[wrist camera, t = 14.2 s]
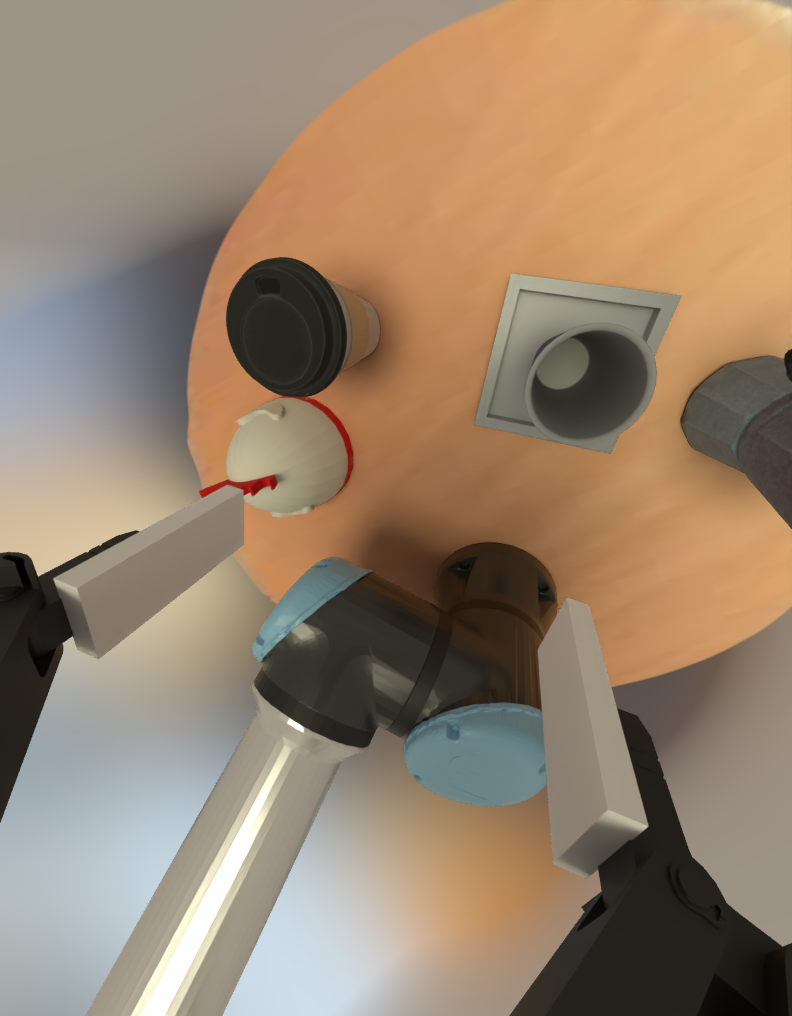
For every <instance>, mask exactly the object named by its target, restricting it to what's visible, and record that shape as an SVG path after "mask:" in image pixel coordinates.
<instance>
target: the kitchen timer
mask: <svg viewBox="0 0 792 1016" xmlns="http://www.w3.org/2000/svg"><path fill="white" fill-rule="evenodd" d="M236 422H237V423H238V424H239V425H240V427H239V428H238V430H237V431H236V433H235V435H234V437H233V439H232V441H231V443H230V446H229V449H228V454H227V462H226V469H227V475H228V480H226V481H223V482H221V483H218V484H215V485H213V486H210V487H208V488H205V489H203V490H201V491H199V493H200V495H201V497H202V498H204V497H205V496H207V495H209V494H211V493H213V492H215V491H217V490H218V489H220V488H222V487H224V486H226V485H230V486H233V487H236V488H239V489H242V490H243V499H244V501H245V502H247V503H248V504H250V505H251V506H253V507H256V508H258V509H261V510H264V511H268V512H270V514H271V515H272V516H273V517H277V518H281V517H287V516H292V515H300V514H306V513H308V512H310V511H312V510H314V507H316V506H319V505H321V504H323V503H324V502H326V501H327V500H329V499H330V498H332V497H333V496H335V495H336V494H337V493H338V492H339V491H340V490H341V489H342V488H343V487H344V485H345V484H346V483H347V481H348V480H349V477H350V474H351V471H352V468H353V451H352V447H351V443H350V439H349V436H348V434H347V432H346V430H345V429H344V427H343V425H342V423H341V421H340V420H339V419H338V418H337V417H336V416H335V415H334V414H333V413H332V412H331V410H330V409H328V408H327V407H325V406H324V405H322V404H321V403H319V402H318V401H316V400H314V399H310V398H307V397H287V396H284V397H280V398H278V399H275V400H272V401H270V402H267V403H265V404H263V405H261V406H259V407H257V408H255V409H253V410H252V411H250V412H249V413H247V414H246V415H244V416H243V417H241V418H240V419H238V420H236Z"/></svg>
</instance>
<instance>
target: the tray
mask: <svg viewBox="0 0 792 1016" xmlns="http://www.w3.org/2000/svg"><path fill="white" fill-rule="evenodd" d="M680 298H681V296H679V295H672V294H664V293H657V292H649V291H641V290H634V289H626V288H619V287H611V286H603V285H596V284H588V283H580V282H573V281H565V280H558V279H550V278H542V277H535V276H527V275H520V274H512V273H511V276H510V280H509V284H508V289H507V293H506V297H505V301H504V305H503V309H502V313H501V317H500V321H499V325H498V329H497V334H496V338H495V342H494V346H493V350H492V354H491V358H490V362H489V366H488V370H487V374H486V378H485V383H484V387H483V391H482V395H481V399H480V403H479V407H478V411H477V415H476V419H475V423H474V425H477V426H482V427H487V428H492V429H496V430H501V431H506V432H510V433H515V434H520V435H524V436H529V437H534V438H538V439H543V440H548V441H552V442H556V441H554V440H552V439H550V438H548V437H547V436H545V435H544V434H543V433H541V432H540V431H539V430H538V429H537V428H536V426H535V425H534V424H533V423H532V421H531V419H530V417H529V415H528V412H527V409H526V405H525V394H524V392H525V385H526V380H527V377H528V374H529V371H530V368H531V365H532V363H533V360H534V357H535V355H536V353H537V351H538V349H539V348H540V347H541V346H542V345H543V344H544V343H545V342H546V341H547V340H549V339H550V338H552V337H554V336H557V335H559V334H561V333H564V332H566V331H569V330H571V329H574V328H576V327H578V326H582V325H586V324H591V323H612V324H617V325H621V326H624V327H626V328H628V329H630V330H633V331H634V332H635V333H637V334H638V335H639V336H640V337H642V338H643V339H644V341H645V342H646V343H647V345H648V346H649V347H650V349H651V351H652V354H653V356H655V354H656V352H657V349H658V347H659V345H660V343H661V341H662V338H663V336H664V334H665V332H666V329H667V327H668V325H669V323H670V321H671V318H672V316H673V314H674V312H675V309H676V307H677V305H678V303H679V300H680ZM618 436H619V435H618ZM618 436H616V437H613V438H611V439H609V440H607V441H604V442H601V443H597V444H594V445H585V446H576V447H580V448H585V449H590V450H595V451H599V452H604V453H609V454H611V452H612V450H613V448H614V445H615V443H616V441H617V439H618ZM557 443H558V442H557ZM571 446H573V445H571Z"/></svg>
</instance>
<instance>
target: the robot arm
mask: <svg viewBox="0 0 792 1016" xmlns="http://www.w3.org/2000/svg"><path fill="white" fill-rule="evenodd" d="M242 545H244V499H243V490H242V489H239V488H236V487H233V486H230V485H226V486H224V487H222V488H220V489H218V490H217V491H215V492H213V493H211V494H209V495H207V496H205V497H204V498H202V499H200V500H198V501H196V502H194V503H192V504H191V505H189V506H187V507H185V508H183V509H181V510H179V511H178V512H176V513H174V514H172V515H170V516H169V517H166V518H165V519H163V520H161V521H159V522H157V523H155V524H153V525H152V526H150V527H148V528H146V529H144V530H142V531H140V532H139V531H132V532H129V533H125V534H122V535H118V536H116V537H114V538H112V539H110V540H108V541H106V542H104V543H103V544H102V545H101V546H97V547H95V548H93V549H91V550H89V552H88V553H87V552H85V553H83V554H81V555H79V556H77V557H75V558H74V559H72V560H70V561H68V562H66V563H64V564H62V565H60V566H58V567H56V568H54V569H52V570H50V571H48V572H46V573H45V574H43V575H41V576H39V577H38V576H37V573H36V570H35V568H34V565H33V562H32V560H31V558H30V557H29V556H28V555H25V554H22V553H15V552H6V553H0V822H1V819H2V817H3V814H4V811H5V809H6V806H7V803H8V801H9V798H10V795H11V792H12V790H13V787H14V784H15V782H16V779H17V776H18V773H19V771H20V768H21V765H22V763H23V760H24V757H25V754H26V752H27V749H28V746H29V744H30V741H31V738H32V735H33V733H34V730H35V727H36V724H37V722H38V719H39V717H40V713H41V711H42V708H43V706H44V703H45V700H46V697H47V695H48V692H49V689H50V687H51V684H52V681H53V679H54V676H55V673H56V670H57V667H58V665H59V662H60V660H61V657H62V654H63V644H62V643H63V642H65V641H66V640H67V639H69V638H70V637H72V636H73V638H74V641H75V644H76V647H77V650H79V651H81V652H84V653H86V654H88V655H90V656H93V657H95V658H97V659H100V658H101V657H102V656H103V655H105V654H106V653H107V652H108V651H110V650H111V649H112V648H113V647H115V646H116V645H117V644H118V643H120V642H121V641H122V640H124V639H125V638H126V637H127V636H129V635H130V634H131V633H132V632H133V631H135V630H136V629H137V628H139V627H140V626H141V625H143V624H144V623H145V622H146V621H148V620H149V619H150V618H151V617H153V616H154V615H155V614H156V613H158V612H159V611H160V610H161V609H163V608H164V607H165V606H167V605H168V604H169V603H170V602H172V601H173V600H174V599H175V598H177V597H178V596H179V595H180V594H181V593H183V592H184V591H186V590H187V589H188V588H189V587H190V586H192V585H193V584H194V583H196V582H197V581H198V580H199V579H201V578H202V577H203V576H204V575H206V574H207V573H208V572H209V571H211V570H212V569H213V568H214V567H216V566H217V565H218V564H220V563H221V562H222V561H223V560H224V559H226V558H227V557H228V556H230V555H231V554H232V553H234V552H235V551H236V550H237V549H239V548H240V547H241V546H242ZM373 573H374V572H373V570H371V569H364V568H362V567H360V566H358V565H355V564H353V563H351V562H349V561H347V560H345V559H342V558H339V557H330V558H326V559H324V560H322V561H320V562H318V563H316V564H315V565H314V566H313V567H311V568H310V569H309V570H308V571H307V572H306V573H305V574H304V575H302V576H301V577H300V578H299V580H298V581H297V582H296V583H295V584H294V585H293V586H292V587H291V588H290V589H289V591H288V592H287V593H286V594H285V595H284V597H283V598H282V599H281V600H280V602H279V603H278V604H277V606H276V607H275V608H274V610H273V611H272V613H271V614H270V615H269V617H268V618H267V620H266V621H265V623H264V624H263V626H262V628H261V630H260V634H259V635H258V637H257V638H256V640H255V642H254V644H253V648H252V651H253V654H254V656H255V657H256V658H257V661H259V662H261V663H262V662H264V664H263V667H262V668H261V670H260V672H259V674H258V675H257V677H256V679H255V681H254V682H253V685H252V689H253V694H254V698H255V703H256V714H255V716H254V717H253V719H252V721H251V723H250V725H249V726H248V728H247V730H246V731H245V733H244V735H243V737H242V739H241V740H240V742H239V744H238V746H237V748H236V749H235V751H234V753H233V755H232V756H231V758H230V760H229V762H228V764H227V765H226V767H225V769H224V771H223V772H222V774H221V776H220V778H219V779H218V781H217V783H216V785H215V786H214V788H213V790H212V792H211V794H210V795H209V797H208V799H207V801H206V803H205V804H204V806H203V808H202V810H201V811H200V813H199V815H198V817H197V818H196V820H195V822H194V824H193V826H192V827H191V829H190V831H189V833H188V834H187V836H186V838H185V840H184V841H183V843H182V845H181V847H180V849H179V850H178V852H177V854H176V856H175V857H174V859H173V861H172V863H171V865H170V866H169V868H168V870H167V872H166V873H165V875H164V877H163V879H162V881H161V883H160V884H159V886H158V888H157V889H156V891H155V893H154V895H153V897H152V898H151V900H150V902H149V904H148V906H147V907H146V909H145V911H144V913H143V914H142V916H141V918H140V920H139V921H138V923H137V925H136V927H135V928H134V930H133V932H132V934H131V936H130V938H129V939H128V941H127V943H126V945H125V946H124V948H123V950H122V952H121V953H120V955H119V957H118V959H117V960H116V962H115V964H114V966H113V968H112V969H111V971H110V973H109V975H108V976H107V978H106V980H105V982H104V983H103V985H102V987H101V989H100V991H99V992H98V994H97V996H96V998H95V999H94V1001H93V1003H92V1005H91V1007H90V1008H89V1010H88V1012H87V1014H86V1015H85V1016H222V1015H223V1013H224V1011H225V1009H226V1007H227V1004H228V1002H229V1000H230V998H231V996H232V994H233V992H234V989H235V987H236V985H237V983H238V981H239V979H240V977H241V975H242V973H243V971H244V968H245V966H246V964H247V962H248V960H249V958H250V956H251V954H252V951H253V949H254V947H255V945H256V943H257V941H258V939H259V936H260V934H261V932H262V930H263V928H264V926H265V924H266V922H267V919H268V917H269V915H270V913H271V911H272V909H273V907H274V905H275V903H276V900H277V898H278V896H279V894H280V892H281V889H282V888H283V885H284V883H285V881H286V879H287V877H288V875H289V873H290V871H291V869H292V867H293V864H294V862H295V860H296V858H297V856H298V854H299V852H300V850H301V847H302V845H303V843H304V841H305V839H306V837H307V835H308V833H309V830H310V828H311V826H312V824H313V822H314V820H315V817H316V816H317V813H318V811H319V809H320V807H321V805H322V803H323V801H324V798H325V796H326V794H327V792H328V790H329V788H330V786H331V784H332V782H333V779H334V777H335V775H336V773H337V771H338V769H339V767H340V765H341V762H342V760H344V759H345V758H347V757H349V756H352V755H355V754H357V753H360V752H363V751H365V750H366V749H367V748H368V746H369V744H370V742H371V740H372V738H373V736H374V733H375V731H376V729H377V728H378V727H381V728H384V729H386V730H388V731H390V732H391V733H393V734H395V735H397V736H399V737H400V738H402V739H404V740H405V742H404V748H403V751H404V760H405V764H406V767H407V769H408V771H409V772H410V774H413V775H414V778H415V779H416V781H417V782H418V783H420V784H421V785H422V786H423V787H425V788H427V789H428V790H430V791H432V792H433V793H435V794H438V795H440V796H443V797H445V798H448V799H451V800H454V801H457V802H461V803H467V804H472V805H481V806H500V805H509V804H514V803H518V802H521V801H524V800H526V799H529V798H531V797H533V796H534V795H536V794H537V793H538V792H540V791H541V790H542V789H543V788H544V786H545V785H546V783H547V789H548V803H549V817H550V831H551V844H552V859H553V864H555V865H557V866H559V867H561V868H563V869H565V870H568V871H570V872H572V873H574V874H577V875H579V876H581V877H584V878H586V879H587V878H588V877H589V876H590V875H592V874H593V873H594V872H595V871H596V870H597V869H598V871H599V877H600V883H601V890H602V892H600V893H599V894H598V895H596V896H595V897H594V898H593V899H591V900H590V901H589V902H587V903H586V904H585V905H584V906H582V908H583V910H584V911H585V912H584V913H583V915H582V916H581V918H580V919H579V920H578V922H577V923H576V924H575V926H574V927H573V929H572V930H571V931H570V933H569V934H568V936H567V937H566V938H565V940H564V941H563V943H562V944H561V945H560V947H559V948H558V949H557V951H556V952H555V953H554V955H553V956H552V958H551V959H550V960H549V962H548V963H547V965H546V966H545V967H544V969H543V970H542V971H541V973H540V974H539V976H538V977H537V979H536V980H535V981H534V983H533V984H532V985H531V987H530V988H529V989H528V991H527V992H526V994H525V995H524V996H523V998H522V999H521V1001H520V1002H519V1003H518V1005H517V1006H516V1007H515V1009H514V1010H513V1012H512V1013H511V1014H510V1016H792V943H791V944H788V945H786V946H783V947H782V946H781V945H779V944H778V943H777V942H776V941H774V940H773V939H772V938H770V937H769V936H768V935H766V934H765V933H764V932H762V931H761V930H760V929H758V928H757V927H756V926H755V925H753V924H752V923H751V922H749V921H748V920H747V919H746V918H744V917H743V916H741V915H740V914H739V913H738V912H736V911H735V910H734V909H733V908H732V907H731V906H729V905H728V904H727V903H726V901H725V899H724V897H723V895H722V894H721V892H720V890H719V888H718V886H717V884H716V883H715V881H714V880H713V879H712V878H711V877H710V875H709V874H708V873H707V871H706V870H705V869H704V868H703V866H701V865H700V864H699V863H698V862H697V861H696V860H695V859H694V858H692V856H691V853H690V851H689V849H688V846H687V843H686V840H685V837H684V834H683V831H682V828H681V825H680V822H679V819H678V816H677V813H676V810H675V807H674V804H673V801H672V798H671V795H670V792H669V789H668V786H667V783H666V780H665V779H663V776H664V774H663V771H662V768H661V765H660V762H658V760H657V759H658V756H657V753H656V750H655V747H654V744H653V741H652V738H651V736H650V734H649V733H648V732H647V730H646V728H645V727H644V725H643V724H642V722H641V721H640V720H639V718H638V716H636V715H634V714H631V713H628V712H626V711H623V710H620V709H617V707H616V703H615V700H614V696H613V692H612V689H611V685H610V681H609V677H608V674H607V670H606V666H605V663H604V659H603V655H602V651H601V648H600V644H599V640H598V637H597V633H596V629H595V625H594V622H593V618H592V614H591V611H590V607H589V605H588V604H585V603H582V602H579V601H576V600H573V599H570V598H566V600H565V602H564V603H563V605H562V607H561V609H560V611H559V612H558V614H557V595H556V588H555V584H554V581H553V579H552V577H551V575H550V573H549V572H548V570H547V569H546V568H545V567H544V565H543V564H542V563H541V562H540V561H538V560H537V559H536V558H535V557H533V556H532V555H530V554H528V553H527V552H525V551H523V550H521V549H518V548H515V547H512V546H509V545H505V544H498V543H481V544H475V545H471V546H468V547H465V548H462V549H460V550H458V551H457V552H455V553H454V554H452V555H451V556H450V557H449V558H448V559H447V560H446V561H445V562H444V563H443V565H442V566H441V568H440V570H439V573H438V576H437V579H436V582H435V587H434V602H435V605H433V604H431V603H429V602H427V601H425V600H423V599H421V598H419V597H417V596H415V595H414V594H412V593H410V592H408V591H406V590H404V589H402V588H400V587H398V586H396V585H394V584H392V583H391V582H389V581H387V580H385V579H383V578H381V577H379V576H377V575H375V574H373ZM556 614H557V616H556Z"/></svg>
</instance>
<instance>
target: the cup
mask: <svg viewBox="0 0 792 1016" xmlns="http://www.w3.org/2000/svg"><path fill="white" fill-rule="evenodd" d="M656 376H657V369H656V363H655V358H654V356H653V354H652V351H651V349H650V347H649V346H648V345H647V343H646V342H645V341H644V339H643V338H642V337H640V336H639V335H638V334H637V333H635V332H634V331H633V330H630V329H628V328H626V327H624V326H621V325H617V324H612V323H591V324H586V325H582V326H578V327H576V328H574V329H571V330H569V331H566V332H564V333H561V334H559V335H557V336H554V337H552V338H550V339H549V340H547V341H546V342H545V343H544V344H543V345H542V346H541V347H540V348H539V349H538V351H537V353H536V355H535V357H534V360H533V363H532V365H531V368H530V371H529V374H528V377H527V380H526V385H525V392H524V394H525V405H526V409H527V412H528V415H529V417H530V419H531V421H532V423H533V424H534V425H535V426H536V428H537V429H538V430H539V431H540V432H541V433H543V434H544V435H545V436H547V437H548V438H550V439H552V440H554V441H556V442H558V443H562V444H566V445H573V446H585V445H594V444H597V443H601V442H604V441H607V440H609V439H611V438H613V437H616V436H618V435H619V434H621V433H622V432H624V431H625V430H626V429H628V428H629V427H630V426H631V425H632V424H633V423H634V422H636V421H637V420H638V419H639V417H640V416H641V415H642V413H643V412H644V411H645V409H646V408H647V406H648V404H649V402H650V400H651V398H652V396H653V392H654V389H655V386H656Z"/></svg>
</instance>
